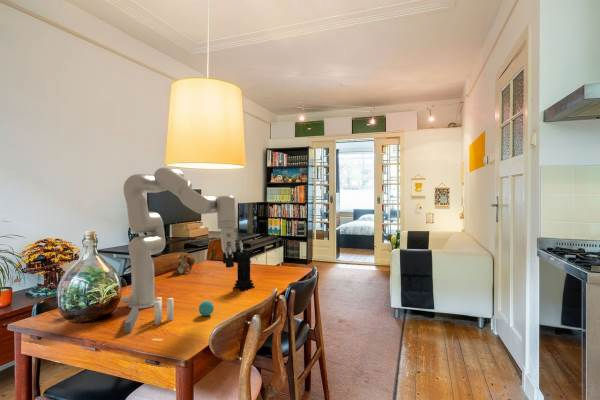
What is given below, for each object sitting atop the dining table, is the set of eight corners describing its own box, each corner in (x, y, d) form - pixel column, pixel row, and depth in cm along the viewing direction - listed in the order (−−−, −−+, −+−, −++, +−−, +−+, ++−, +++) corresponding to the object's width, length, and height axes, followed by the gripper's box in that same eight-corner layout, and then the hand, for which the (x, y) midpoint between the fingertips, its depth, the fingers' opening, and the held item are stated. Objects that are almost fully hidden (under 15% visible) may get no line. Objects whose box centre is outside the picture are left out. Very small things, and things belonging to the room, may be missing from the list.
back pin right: (154, 324, 127) (153, 303, 127) (154, 322, 130) (154, 301, 130) (160, 324, 128) (160, 302, 128) (161, 321, 130) (161, 300, 130)
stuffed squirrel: (171, 274, 209) (171, 254, 209) (185, 269, 223) (185, 250, 223) (184, 275, 206) (184, 254, 206) (198, 270, 220) (197, 251, 220)
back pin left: (155, 320, 132) (155, 299, 132) (156, 318, 134) (155, 297, 134) (161, 319, 133) (161, 298, 133) (162, 317, 135) (162, 296, 135)
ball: (199, 318, 133) (198, 304, 133) (198, 313, 139) (198, 299, 139) (214, 317, 135) (214, 302, 135) (213, 312, 141) (213, 298, 141)
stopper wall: (124, 333, 119) (124, 322, 119) (133, 316, 137) (132, 306, 136) (130, 332, 120) (130, 322, 120) (138, 315, 137) (138, 306, 137)
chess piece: (244, 285, 183) (244, 249, 183) (254, 287, 178) (254, 250, 178) (233, 288, 177) (233, 251, 177) (243, 290, 172) (242, 252, 172)
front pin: (167, 321, 131) (166, 299, 131) (167, 319, 133) (167, 298, 133) (173, 320, 132) (173, 299, 132) (173, 318, 134) (173, 297, 134)
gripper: (238, 225, 133) (240, 268, 133) (232, 223, 149) (234, 260, 149) (219, 226, 130) (221, 270, 130) (215, 224, 146) (217, 262, 147)
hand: (228, 265), depth 140 cm, fingers open, 9 cm apart
